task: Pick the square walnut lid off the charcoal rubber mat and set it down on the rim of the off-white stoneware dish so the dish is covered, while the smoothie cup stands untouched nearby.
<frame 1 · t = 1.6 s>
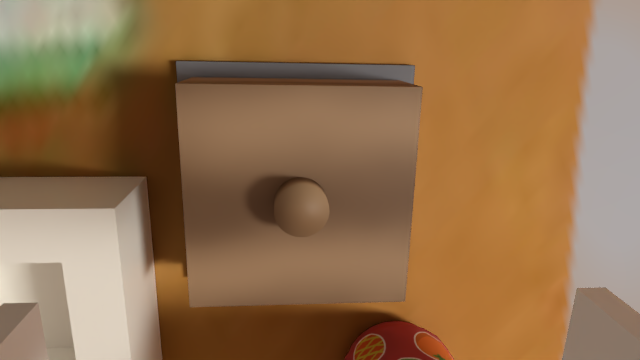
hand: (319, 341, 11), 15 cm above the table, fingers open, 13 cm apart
dish: (44, 280, 26), on the table
lid: (297, 178, 25), resting on mat
smoothie: (390, 356, 29), on the table
mat: (296, 176, 25), on the table
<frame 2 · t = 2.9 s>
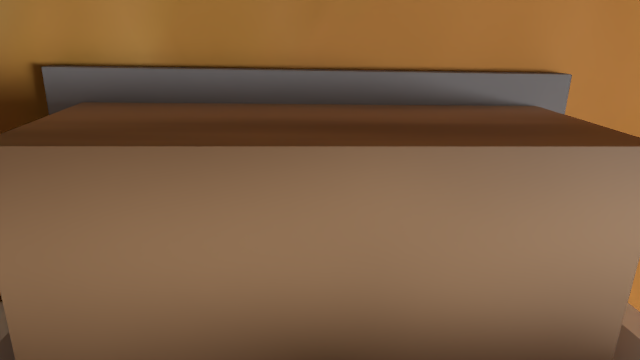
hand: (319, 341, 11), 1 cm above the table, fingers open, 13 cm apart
lid: (315, 301, 12), resting on mat
mat: (313, 293, 13), on the table
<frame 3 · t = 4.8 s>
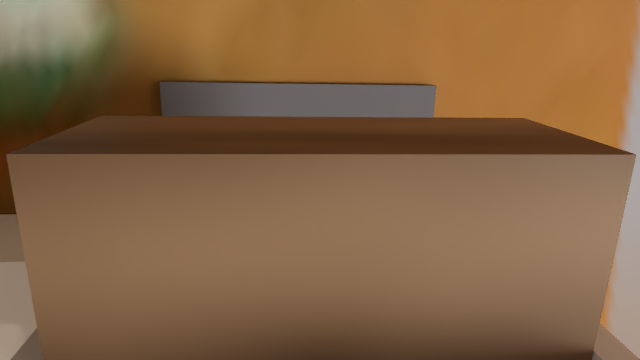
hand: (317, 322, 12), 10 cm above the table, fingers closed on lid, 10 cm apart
dish: (11, 330, 23), on the table
lid: (316, 303, 13), point 9 cm above the table, touching gripper
mat: (299, 211, 22), on the table
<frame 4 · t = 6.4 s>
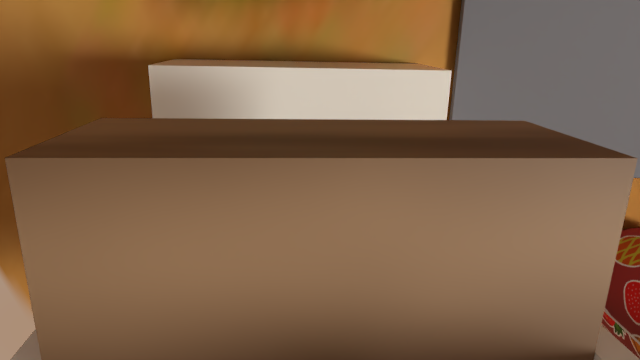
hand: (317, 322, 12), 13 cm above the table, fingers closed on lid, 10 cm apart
dish: (298, 176, 25), on the table
lid: (316, 305, 13), point 12 cm above the table, touching gripper
smoothie: (622, 268, 29), on the table
mat: (566, 66, 24), on the table
when the fingers open (6 cm above the table, at t = 8.2 s): lid stays where it is, resting on dish.
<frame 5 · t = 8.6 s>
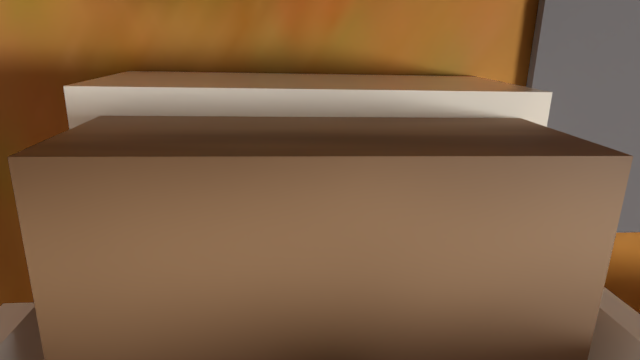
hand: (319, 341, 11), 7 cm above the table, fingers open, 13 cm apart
dish: (305, 232, 18), on the table
lid: (315, 302, 13), point 5 cm above the table, touching dish
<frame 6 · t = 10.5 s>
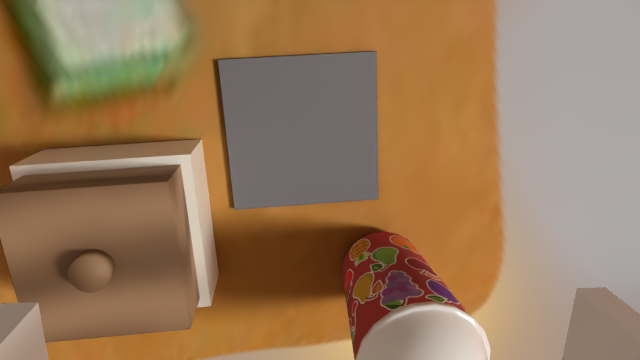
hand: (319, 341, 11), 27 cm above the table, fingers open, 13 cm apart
dish: (136, 215, 38), on the table
lid: (116, 239, 33), point 5 cm above the table, touching dish
smoothie: (377, 259, 41), on the table
mat: (302, 132, 37), on the table
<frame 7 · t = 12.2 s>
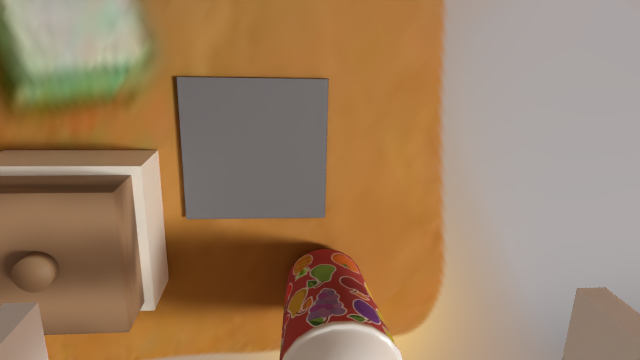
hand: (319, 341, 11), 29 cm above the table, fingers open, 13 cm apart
dish: (91, 218, 40), on the table
lid: (66, 242, 35), point 5 cm above the table, touching dish
smoothie: (322, 274, 43), on the table
mat: (255, 150, 39), on the table
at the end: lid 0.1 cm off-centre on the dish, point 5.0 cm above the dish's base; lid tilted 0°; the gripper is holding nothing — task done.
